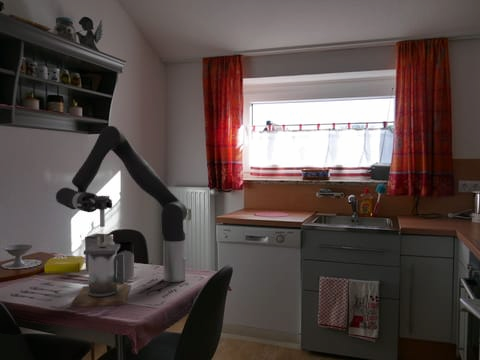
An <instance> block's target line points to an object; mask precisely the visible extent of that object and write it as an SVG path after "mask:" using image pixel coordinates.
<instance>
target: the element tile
mask: <svg viewBox="0 0 480 360" xmlns="http://www.w3.org/2000/svg"><path fill="white" fill-rule="evenodd" d="M83 267H84V257H83V256H81V255H78V256H77V255H75V256H55V257H51V258H49V259H48V260H47V262H45V264H44V274H46V275H49V274H50V275H51V274H54V275H55V274H70V273H72V274H73V273H79V272H81V270H82V269H83Z"/></svg>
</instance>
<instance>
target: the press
mask: <svg viewBox="0 0 480 360" xmlns="http://www.w3.org/2000/svg"><path fill="white" fill-rule="evenodd" d="M119 248H120V244H116V243H115V244H100V245H90V246H89V247H88V248H87V249H86V250H85V249H84V250H83V256H85V255H88V265H89V272H88V286H89V290H88V296H90V297H93V298H105V297H110V296H113V295H115V294H117V293H118V288H117V285H125V281H124V253H121V254H117V251H118V250H119ZM117 260H119V278H117Z"/></svg>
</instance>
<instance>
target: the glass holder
mask: <svg viewBox="0 0 480 360" xmlns="http://www.w3.org/2000/svg"><path fill="white" fill-rule="evenodd" d="M115 244H120V248H119V250H118V251H117V254H121V253H124V282H126V281H130V280H134V279H135V278H136V275H135V253H134V242H133V241H120V242H119V241H118V242H116V243H115ZM117 278H119V260H117ZM133 278H134V279H133Z"/></svg>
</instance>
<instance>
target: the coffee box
mask: <svg viewBox="0 0 480 360" xmlns="http://www.w3.org/2000/svg"><path fill="white" fill-rule="evenodd" d="M105 234H106V233H93V234H91V235H88V236H85V237H84V247H85V248H84V250H86V249H87V248H88V247H89V246H90V245H100V244H102V243H103V242H104V235H105ZM84 257H85V272H88V273H89V265H88V255H84Z"/></svg>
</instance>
